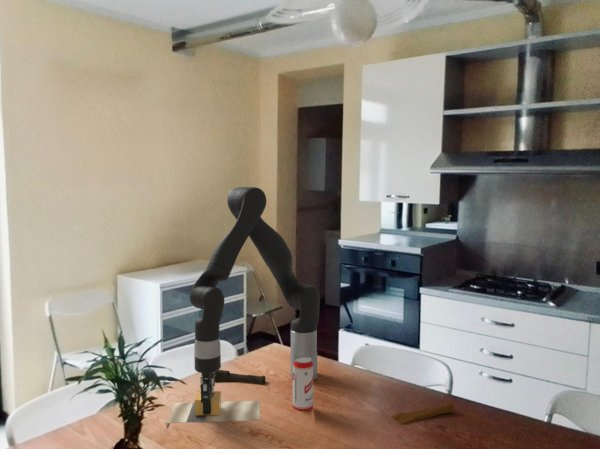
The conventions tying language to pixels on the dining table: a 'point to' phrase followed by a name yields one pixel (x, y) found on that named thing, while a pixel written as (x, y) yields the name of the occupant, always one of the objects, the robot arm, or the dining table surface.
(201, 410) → the yellow block
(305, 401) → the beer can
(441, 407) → the primitive tool
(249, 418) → the board
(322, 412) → the dining table surface
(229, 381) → the black flashlight
